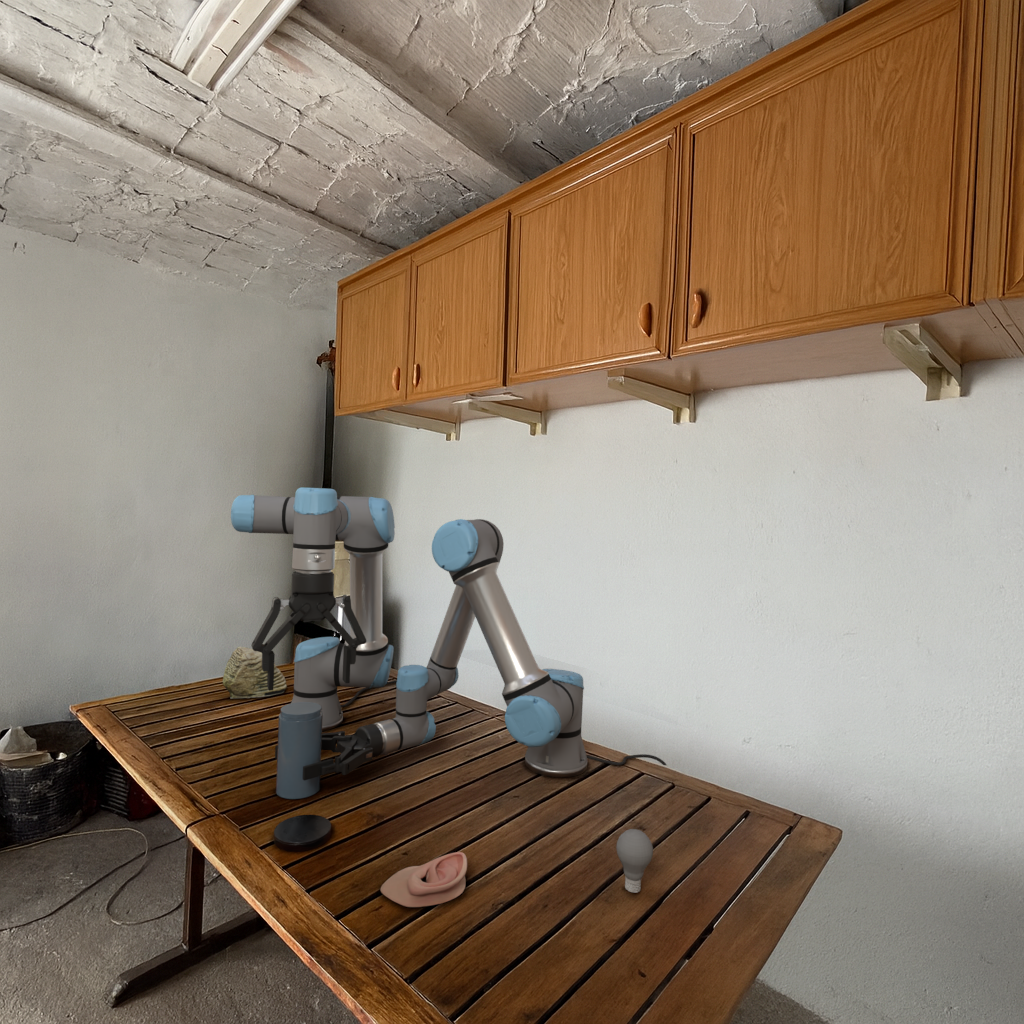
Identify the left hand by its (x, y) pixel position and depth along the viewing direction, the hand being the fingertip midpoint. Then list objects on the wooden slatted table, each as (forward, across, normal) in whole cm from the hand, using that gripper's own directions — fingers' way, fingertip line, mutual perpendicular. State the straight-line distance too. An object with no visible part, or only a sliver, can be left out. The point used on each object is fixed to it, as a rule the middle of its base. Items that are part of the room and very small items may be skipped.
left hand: (309, 685), depth 118 cm
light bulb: (+28, +47, -38) cm, 67 cm away
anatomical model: (+28, +16, -24) cm, 40 cm away
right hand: (+22, 0, +19) cm, 29 cm away
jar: (+28, +2, +20) cm, 35 cm away
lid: (+27, 0, 0) cm, 27 cm away
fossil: (+29, -1, +90) cm, 94 cm away
